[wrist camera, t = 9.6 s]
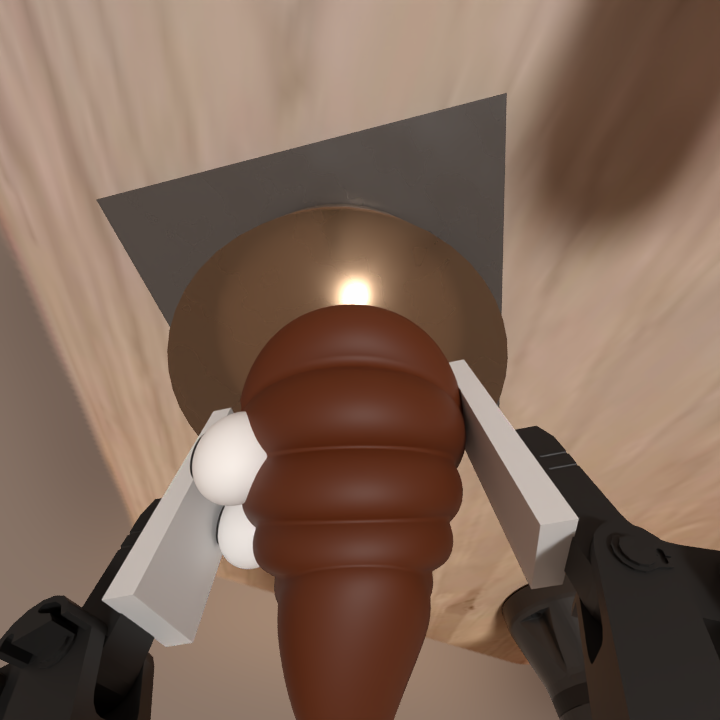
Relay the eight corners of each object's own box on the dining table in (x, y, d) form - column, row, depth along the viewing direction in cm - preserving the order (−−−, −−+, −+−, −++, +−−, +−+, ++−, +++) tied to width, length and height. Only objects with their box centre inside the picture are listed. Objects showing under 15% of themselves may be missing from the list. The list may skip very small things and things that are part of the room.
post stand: (493, 415, 24) (544, 490, 18) (256, 461, 25) (228, 546, 19) (496, 98, 14) (610, 29, 8) (110, 199, 16) (-41, 203, 9)
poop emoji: (430, 483, 16) (521, 804, 7) (264, 486, 15) (168, 825, 7) (467, 294, 11) (855, 630, 2) (223, 294, 10) (-245, 676, 2)
